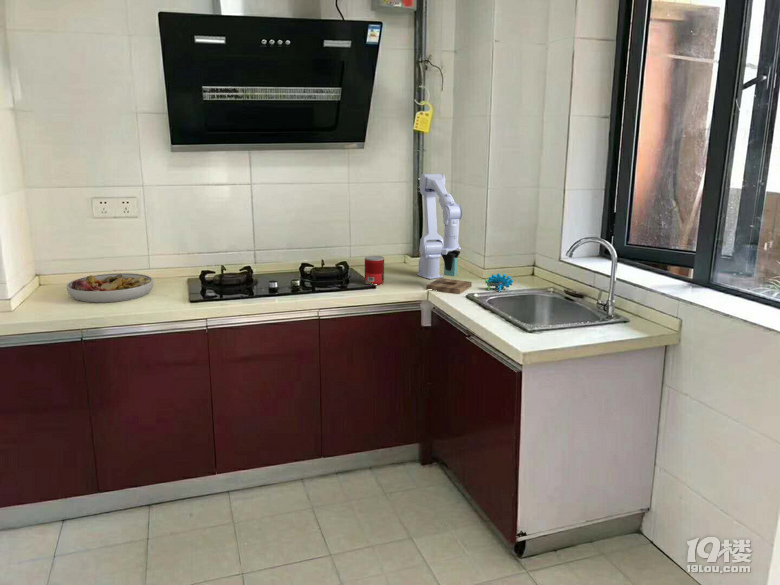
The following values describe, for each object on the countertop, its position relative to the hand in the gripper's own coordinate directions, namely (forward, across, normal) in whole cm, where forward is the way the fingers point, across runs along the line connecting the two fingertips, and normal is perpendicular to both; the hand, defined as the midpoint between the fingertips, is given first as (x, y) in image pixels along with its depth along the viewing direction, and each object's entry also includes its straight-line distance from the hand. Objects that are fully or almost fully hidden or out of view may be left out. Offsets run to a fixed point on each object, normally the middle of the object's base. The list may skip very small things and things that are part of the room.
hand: (450, 269), depth 258 cm
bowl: (+8, -73, +108) cm, 130 cm away
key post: (+2, 0, 0) cm, 2 cm away
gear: (+8, +7, -18) cm, 21 cm away
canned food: (+8, -8, +30) cm, 32 cm away
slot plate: (+8, 0, 0) cm, 8 cm away
